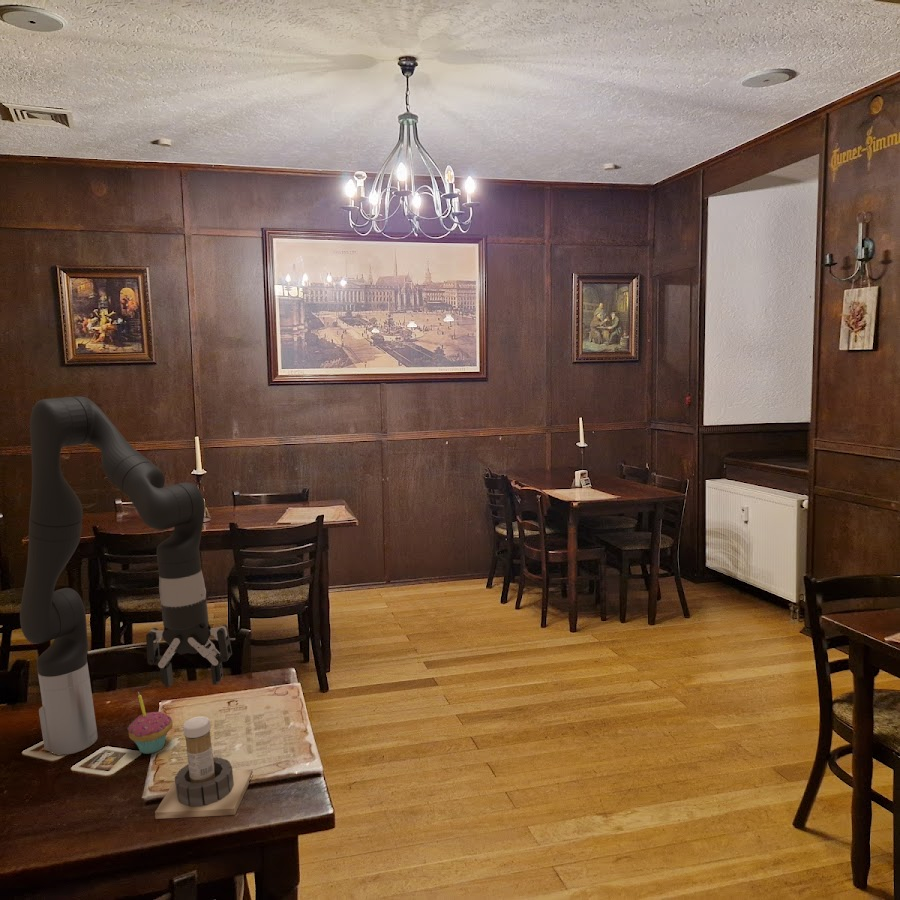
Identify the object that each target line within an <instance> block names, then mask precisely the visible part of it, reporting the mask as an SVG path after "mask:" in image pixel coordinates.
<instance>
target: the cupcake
mask: <svg viewBox="0 0 900 900" xmlns="http://www.w3.org/2000/svg"><path fill="white" fill-rule="evenodd" d="M137 694H138V696H137V697H138V701H139V706H140V709H141V713H142V714H141V715H138V716H137V717H135V718H134V719H133V720H132V721H131V723H129V724H128V727H127V731H128V737H129V739H130V740H131V741H133V742H134V743H135V744H136V746H137V748H138V750H139V752H140V753H142V754H144V755H145V754H148V755H150V754H154V753H157V752H159V751H160V750H162V749H163V748H164V747H165V742H166V738H167V735H168V733H169V732H170V730H171V729H172V728H173V725H174V724H173V720H172V717H171V716H170V715H168V714H167V713H163V712H161V711H151V712H146V708H145V703H144V700H143V697H142V695H141V694H140V692H139V691H137Z"/></svg>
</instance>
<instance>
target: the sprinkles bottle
mask: <svg viewBox="0 0 900 900" xmlns="http://www.w3.org/2000/svg"><path fill="white" fill-rule="evenodd" d="M182 728H183V735H184V737H185V745H186V755H187V756H186V757H187V763H188V764H187V765H189V774H190V779H191V783H203V782H206V781H209V780H212V779H214V778H215V771H214V759H213V758H214V753H213V746H212V741H211V740H212V739H211V723H210V719H209V718H208V717H207V716H203V715H202V716H200V715H199V716H194V717H191V718H188V720H187V719H186V721H185V722H184V723H183V725H182Z"/></svg>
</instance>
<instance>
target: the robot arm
mask: <svg viewBox="0 0 900 900" xmlns="http://www.w3.org/2000/svg"><path fill="white" fill-rule="evenodd" d="M29 427H30V428H29V432H30V433H29V434H30V450H31V451H30V453H31V455H30V456H31V493H30V495H31V497H30V508H29V516H28V517H29V520H28V548H27V549H28V550H27V562H26V573H25V579H24V584H23V585H24V586H23V591H22V594H21V595H22V596H21V603H20V608H19V609H20V610H19V621H20V623H19V624H20V628H21V632H22V634H23V636H24V637H25V639H26V640H27V641H28V642H29V643H30V644H36V645H38V644H45V643H47V642H50V641H52V643H51V645H49V647H47V649H45V650H44V651H43V652H42V653H41V654H40V655H39V656H38V658H37V660H36V669H37V675H38V683H39V687H40V688H39V690H40V697H41V703H42V706H41V707H39V709H38V714H39V722H40V729H41V734H42V741H43V747H44V751H45V750H48V751H51V752H53V753H55V754H67V755H72V754H77V753H79V752H81V751H84V750H86V749H87V748H90V747H91V746H92V745H94V744H95V743H97V740H98V739H99V738H98V729H97V722H96V715H95V714H96V713H95V707H94V700H93V693H92V685H91V677H90V671H89V665H88V658H87V655H88V650H89V640H88V629H87V617H86V609H85V605H84V602H83V599H82V597H81V596H80V594H79V593H78V592H77V591H76V590H74V589H73V588H70V587H64V588H60V589H57V590H55V587H56V585H57V581H58V579H59V577H60V575H61V573H63V572H62V571H64V569H65V567H66V566H67V564H68V563H69V561H70V559H71V558H72V556H73V555H74V553H76V549H77V547H78V546H79V544H80V541H81V537H82V531H83V516H84V515H83V514H84V513H83V512H84V511H83V510H84V509H83V505H82V502H81V500H80V498H79V497H78V495H77V494H76V492H75V491H74V489H73V488H72V486H71V485H70V484H69V482H67V479H66V478H65V477H64V473H63V471H62V464H61V453H62V448H65V447H71V446H77V445H78V446H79V445H84V444H90V445H91V446H93V447H95V448H96V449H98V450H99V451H100V452H101V467H102V470H103V473H104V475H105V476H106V478H107V479H108V480H109V481H110V482H111V484H113V486H115V487H116V488H118V489H119V490H120V491H121V492H122V493H123V494H124V495H126V496H127V497H128V498H129V500H130V501H131V503H132V505H133V506H134V508H135V510H136V511H137V514H138V515H139V517H140V519H141V520H142V522H143V523H144V525H146V526H147V527H149V528H151V529H154V530H156V531H164V530H167V529H171V528H173V531H172V533H171V534H170V535H169V536H168V538H166V539H164V540H163V541H162V542H160V543H159V544H158V545H157V546H156V561H157V568H158V569H157V570H158V576H159V577H158V580H159V581H158V590H159V598H160V608H161V616H162V624H163V629H162V630H161V629H160V630H159V629H158V628H157V627H153V628H152V629H150V630H149V631H148V633H146V635H145V638H146V639H145V640H146V643H145V644H146V660H147V664H148V665H150V666H153V665H154V666H158V668H159V672H160V682H161V684H163V685H164V687H165V688H170V687H171V686H172V685H173V683H174V676H173V666H172V662H170V661H171V660H172V658H173V656H174V655H175V653H176V654H178V655H185V654H191V655H197V654H198V653H199V655H201V656H202V657H203V658H205V659H206V660H207V661H208V662H209V663H210V664H211V665H210V671H211V681H212V685H213V686H217V685H218V684H219V683H220V682H221V681H222V679H223V677H224V673H223V672H224V671H223V663H225V662H227V661H228V660H229V658H230V657H231V656H232V655H233V650H232V646H231V645H232V644H231V639H230V638H231V637H230V635H229V633H230V632H229V628H228V625H227V624H222V625H221V626H218V627H212V626H211V625H210V623H209V614H208V613H209V611H208V604H207V603H208V602H207V601H208V600H207V588H206V585H205V579H204V575H203V570H202V562H201V561H202V559H201V554H200V553H201V552H200V544H201V539H202V532H203V527H204V521H205V516H206V515H205V513H206V503H205V497H204V495H203V493H202V491H201V490H200V488H198V486H197V485H196V484H194V483H191V482H187V481H186V482H181V483H175V484H173V485H172V484H171V485H168V486H165V483H166V478H165V474H164V472H163V470H161V469H160V468H159V467H158V466H156V465H155V464H154V463H153V462H152V461H151V460H149V459H148V458H147V457H146V456H144V455H143V454H141V452H139V451H138V450H136V448H135V447H133V446H132V445H131V443H129V442H128V440H127V439H126V438H125V437H124V435H122V434H121V432H120V431H119V429H118V428H117V427H116V426H115V425H114V424H113V422H112V421H111V420H110V418H109V417H108V416H107V415H106V414H105V413H104V411H102V409H101V408H100V407H99V406H98V405H97V404H95V402H94V401H92V400H91V399H89V398H88V397H84V396H65V397H53V398H44V399H40V400H39V401H37V402H35V404H34V405H33V407H32V409H31V413H30V421H29ZM211 636H213V637H214V639H215V640H216V641H217V642H218V647H219V650H218V649H217V648H216V646H215V643H213V641H211V640H210V638H211ZM162 638H163V641H165V642H166V644H168V646H169V647H168V648H167V649H166V650H165V652H164V654H163V655H160V642H161V640H162ZM51 752H50V753H51ZM55 754H54V755H55Z"/></svg>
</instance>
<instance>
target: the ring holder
mask: <svg viewBox="0 0 900 900" xmlns="http://www.w3.org/2000/svg"><path fill="white" fill-rule="evenodd" d="M213 759H214V771H215V778H214V779H212V780H209V781H206V782H203V783H191V779H190V774H189V765H188V764H186V765H184V766H183V767H181V768H180V770H178V772H177V774H176V775H175V777H174V781H173V783H172V784H171V786H170V788H169V789H168V791H167V792H166V794H165V795H164V797H163V798H162V800H161V802H160V803H159V805H158V807H157V808H156V810H155V811H154V817H155V819H156V820H157V819H158V820H159V819H161V820H162V819H179V818H181V819H182V818H197V817H198V818H201V817H219V816H221V817H222V816H223V817H224V816H235V815H236V813H237V811H238V809H239V807H240V805H241V802H242V800H243V798H244V796H245V793H246V791H247V789H248V787H249V785H250V783H249V780H250V778H251V775H252V773H254V772H253V769H252V768H250V769H233V766H232V764H231V763H230V761H229V760H228V759H225V758H222V757H217V756H216V757H214V756H213ZM251 779H252V778H251Z"/></svg>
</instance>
